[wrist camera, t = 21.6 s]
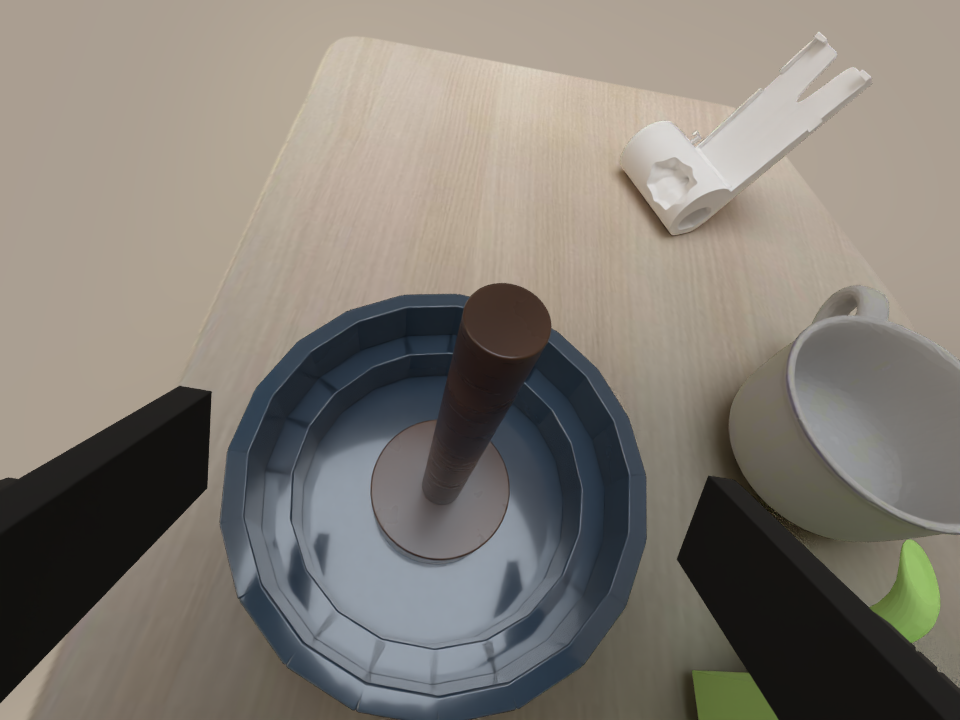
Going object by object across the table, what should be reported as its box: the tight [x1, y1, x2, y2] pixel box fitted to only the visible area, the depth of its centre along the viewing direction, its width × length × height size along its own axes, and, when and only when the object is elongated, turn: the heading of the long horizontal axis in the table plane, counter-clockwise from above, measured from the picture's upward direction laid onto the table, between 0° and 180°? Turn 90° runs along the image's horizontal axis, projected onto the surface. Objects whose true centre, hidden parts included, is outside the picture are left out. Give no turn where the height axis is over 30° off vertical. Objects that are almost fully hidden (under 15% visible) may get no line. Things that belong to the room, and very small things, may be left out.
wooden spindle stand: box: [370, 283, 551, 564], centre depth 16 cm, size 6×6×16 cm
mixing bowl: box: [220, 294, 647, 720], centre depth 21 cm, size 17×17×6 cm
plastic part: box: [620, 32, 872, 235], centre depth 33 cm, size 8×10×12 cm
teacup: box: [729, 285, 960, 542], centre depth 26 cm, size 14×11×8 cm
